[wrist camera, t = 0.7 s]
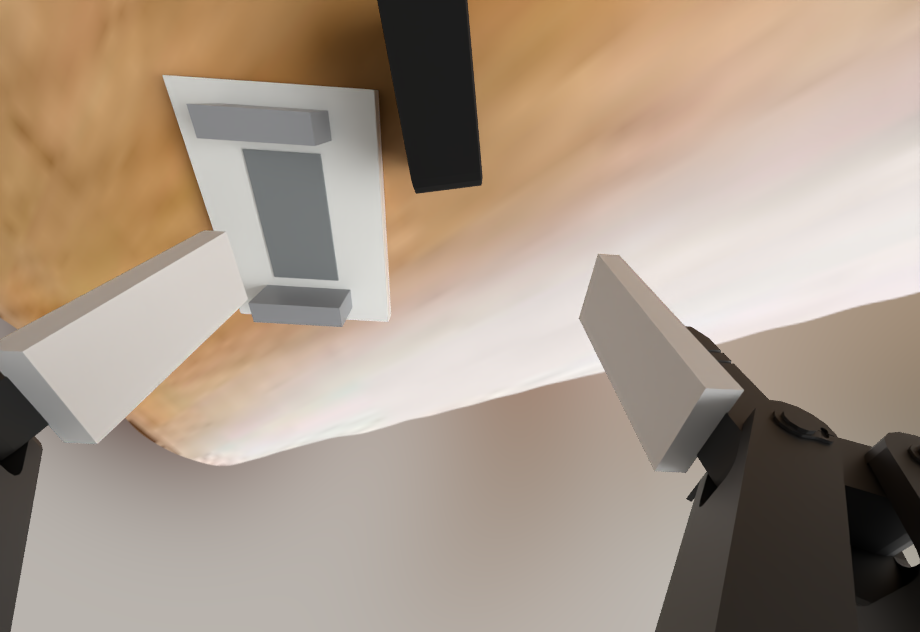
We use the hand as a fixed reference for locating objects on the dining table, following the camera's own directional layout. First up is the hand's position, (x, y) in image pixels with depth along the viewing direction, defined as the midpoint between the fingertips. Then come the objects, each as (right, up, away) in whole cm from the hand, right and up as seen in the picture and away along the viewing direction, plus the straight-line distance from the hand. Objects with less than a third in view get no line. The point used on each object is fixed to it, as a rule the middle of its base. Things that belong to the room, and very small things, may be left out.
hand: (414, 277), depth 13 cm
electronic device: (+1, +15, +14) cm, 21 cm away
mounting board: (-13, +8, +19) cm, 24 cm away
